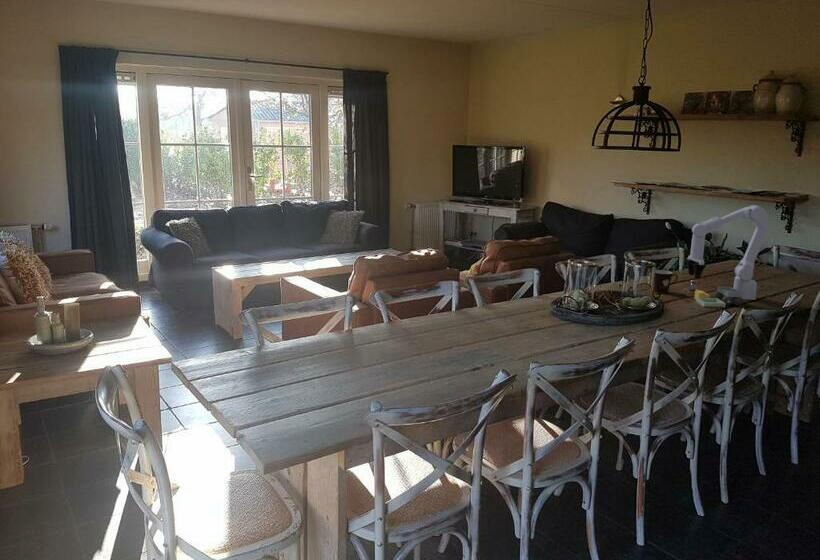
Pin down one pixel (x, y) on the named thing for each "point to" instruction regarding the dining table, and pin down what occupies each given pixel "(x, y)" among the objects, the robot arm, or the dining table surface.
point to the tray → (711, 302)
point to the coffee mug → (663, 281)
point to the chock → (701, 294)
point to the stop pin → (693, 286)
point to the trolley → (729, 295)
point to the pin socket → (688, 293)
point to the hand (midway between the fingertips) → (694, 276)
